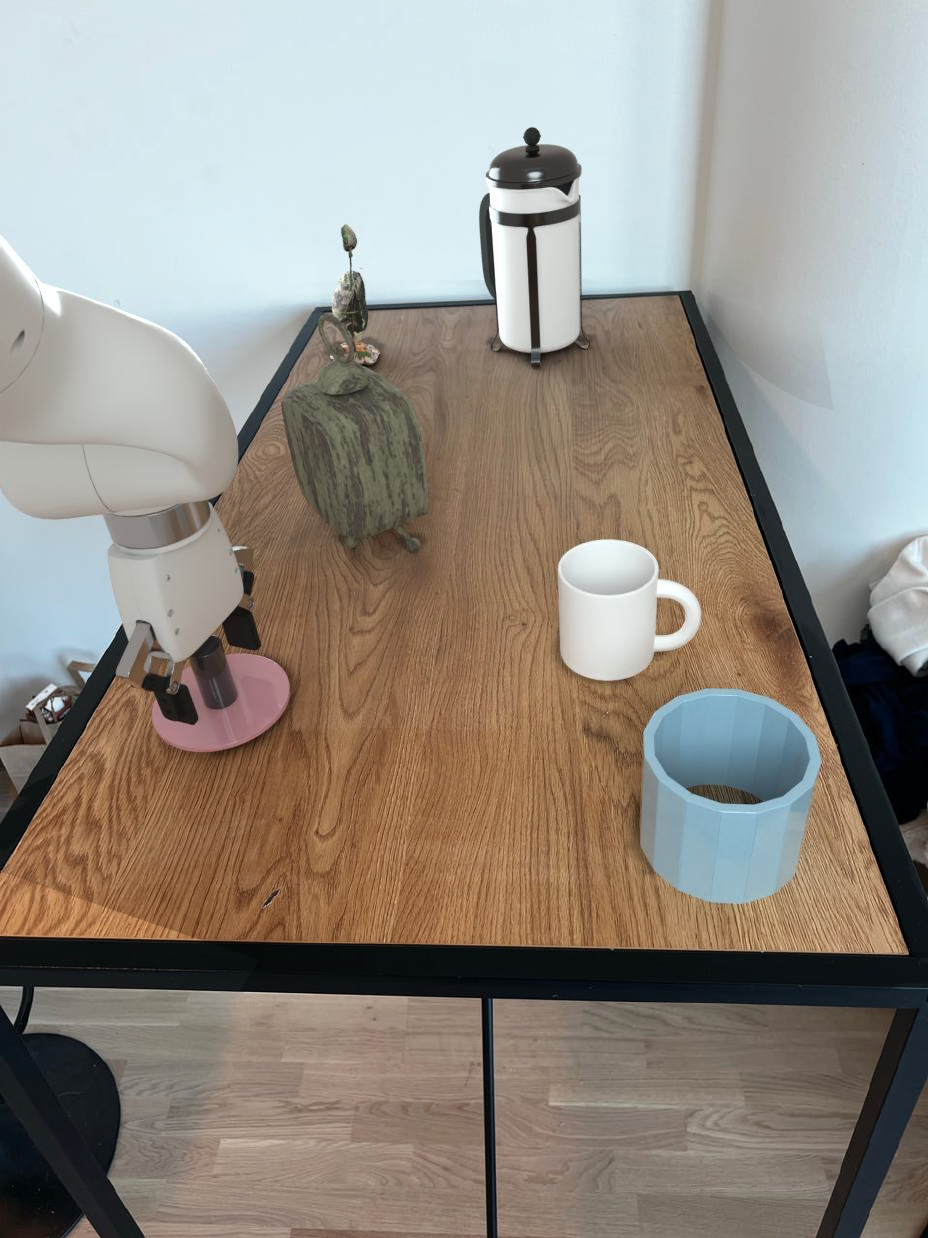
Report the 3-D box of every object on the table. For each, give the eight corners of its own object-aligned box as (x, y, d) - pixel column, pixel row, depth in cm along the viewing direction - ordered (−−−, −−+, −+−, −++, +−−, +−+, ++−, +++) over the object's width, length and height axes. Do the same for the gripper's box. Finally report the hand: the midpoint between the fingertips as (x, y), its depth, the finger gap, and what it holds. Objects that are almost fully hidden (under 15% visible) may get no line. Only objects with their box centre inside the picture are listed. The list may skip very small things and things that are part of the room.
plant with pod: (388, 340, 148) (369, 207, 136) (375, 370, 139) (354, 231, 127) (338, 343, 149) (314, 211, 137) (322, 372, 140) (296, 234, 128)
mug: (696, 635, 86) (704, 541, 79) (697, 697, 79) (706, 601, 73) (565, 629, 88) (563, 537, 82) (555, 688, 82) (552, 594, 75)
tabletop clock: (437, 553, 100) (408, 324, 84) (362, 585, 96) (317, 353, 81) (373, 499, 110) (337, 286, 94) (304, 527, 106) (254, 310, 91)
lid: (270, 759, 77) (250, 696, 73) (133, 755, 79) (106, 693, 74) (306, 663, 86) (291, 601, 82) (183, 661, 88) (161, 601, 84)
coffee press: (597, 326, 145) (596, 110, 127) (583, 369, 133) (581, 137, 115) (487, 326, 149) (472, 117, 131) (465, 368, 137) (444, 144, 119)
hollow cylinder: (810, 919, 62) (835, 815, 56) (641, 910, 64) (646, 809, 57) (785, 792, 71) (804, 689, 64) (637, 787, 72) (641, 687, 66)
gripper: (183, 451, 77) (233, 614, 88) (38, 568, 65) (116, 742, 76) (260, 461, 75) (302, 627, 85) (125, 585, 62) (193, 762, 73)
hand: (215, 681), depth 80 cm, fingers open, 9 cm apart
